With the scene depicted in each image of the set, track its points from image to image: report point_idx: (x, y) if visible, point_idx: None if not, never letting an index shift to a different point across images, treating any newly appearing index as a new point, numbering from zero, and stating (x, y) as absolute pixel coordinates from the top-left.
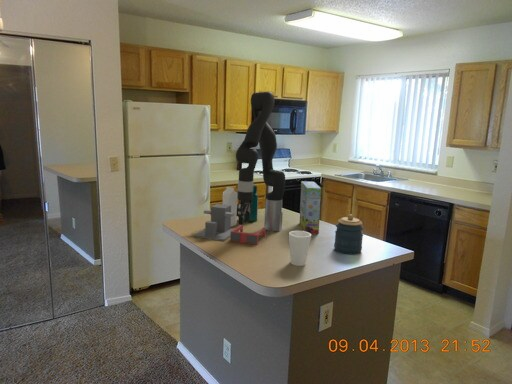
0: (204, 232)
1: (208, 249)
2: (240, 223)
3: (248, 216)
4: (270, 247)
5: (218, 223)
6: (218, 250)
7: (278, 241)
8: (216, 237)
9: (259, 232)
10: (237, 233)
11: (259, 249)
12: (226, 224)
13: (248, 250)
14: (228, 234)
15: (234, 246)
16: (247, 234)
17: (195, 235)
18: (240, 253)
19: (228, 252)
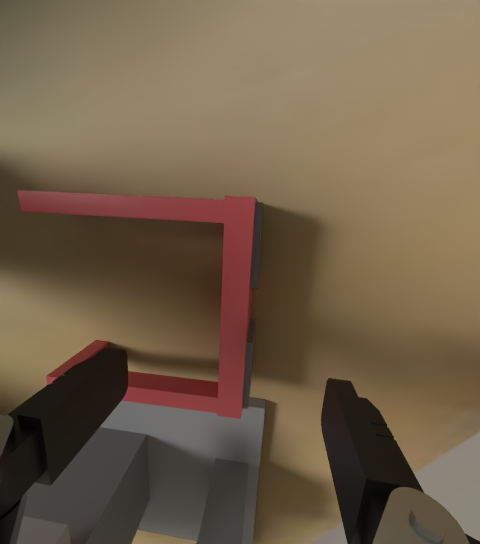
0: (194, 517)
1: (437, 438)
2: (370, 415)
3: (78, 394)
4: (276, 89)
5: (120, 522)
6: (441, 388)
7: (120, 73)
8: (250, 451)
9: (168, 202)
10: (245, 364)
11: (348, 155)
12: (94, 472)
13: (392, 222)
14: (169, 408)
15: (338, 325)
16: (250, 287)
17: (252, 540)
18: (469, 254)
19: (466, 328)
